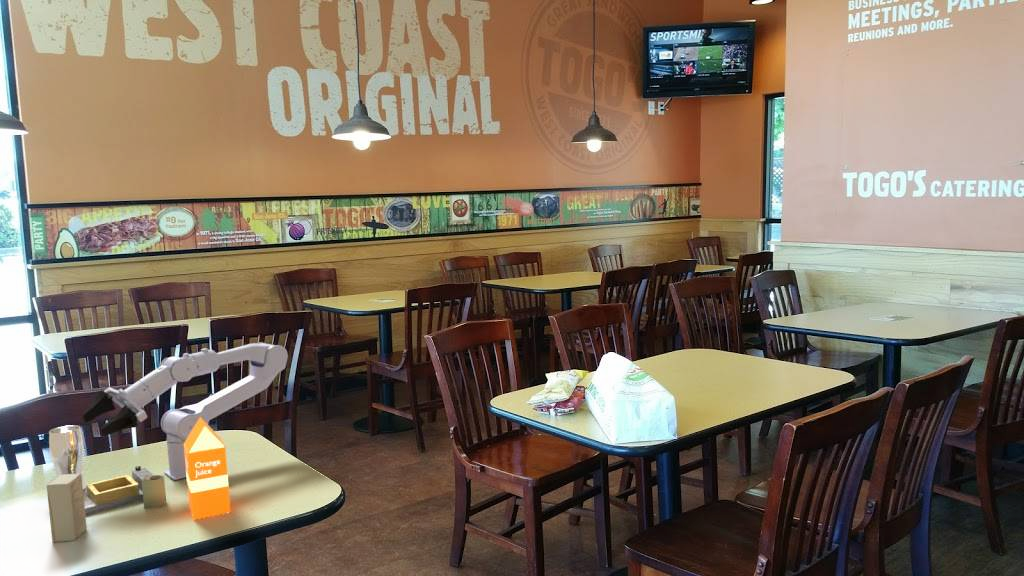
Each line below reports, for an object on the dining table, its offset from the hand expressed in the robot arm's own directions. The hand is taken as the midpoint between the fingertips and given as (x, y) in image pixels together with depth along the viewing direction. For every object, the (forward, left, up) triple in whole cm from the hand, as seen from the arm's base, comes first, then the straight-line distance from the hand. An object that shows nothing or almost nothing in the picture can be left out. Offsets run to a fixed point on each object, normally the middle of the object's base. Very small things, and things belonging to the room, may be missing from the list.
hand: (92, 425), depth 182 cm
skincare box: (+10, +19, -17) cm, 28 cm away
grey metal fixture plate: (-2, +3, -17) cm, 18 cm away
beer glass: (+4, -11, -17) cm, 21 cm away
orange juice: (-16, +26, -17) cm, 35 cm away
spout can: (-8, +14, -17) cm, 24 cm away
